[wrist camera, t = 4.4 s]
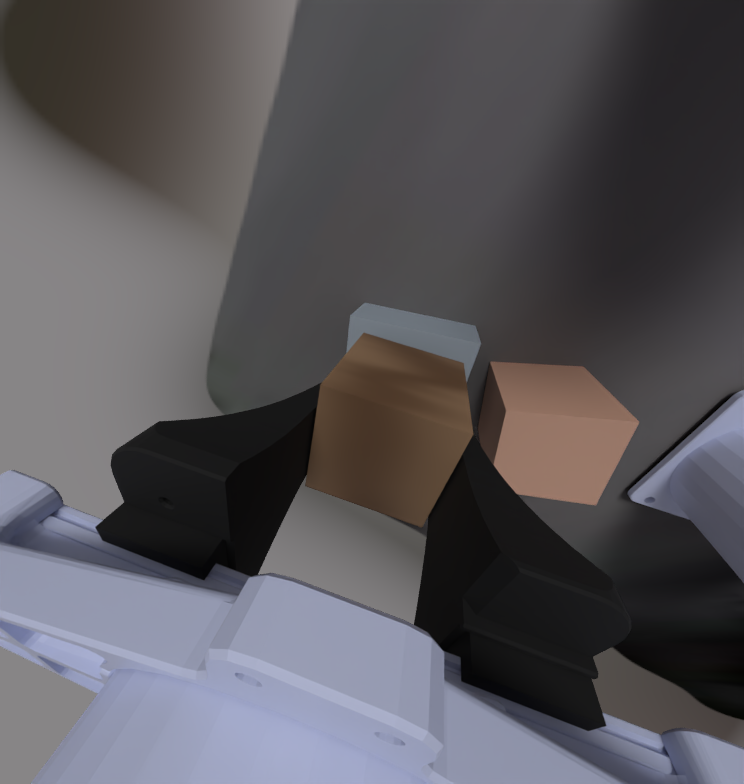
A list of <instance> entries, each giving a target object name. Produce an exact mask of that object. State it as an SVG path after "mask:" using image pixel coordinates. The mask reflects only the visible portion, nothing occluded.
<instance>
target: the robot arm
mask: <svg viewBox="0 0 744 784" xmlns="http://www.w3.org/2000/svg"><path fill="white" fill-rule="evenodd" d="M320 385H321V383H320V384H318V385H316V386H314V387H312V388H310V389H308V390H306V391H304V392H301V393H299V394H297V395H294V396H292V397H289V398H287V399H285V400H282V401H279V402H276V403H273V404H270V405H267V406H264V407H260V408H256V409H252V410H248V411H243V412H239V413H234V414H229V415H223V416H216V417H209V418H201V419H190V420H176V421H159V422H158V423H156V424H154V425H153V426H152V427H150V428H148V429H147V430H145V431H144V432H142V433H141V434H139V435H138V436H136V437H135V438H133V439H132V440H130V441H129V442H127V443H126V444H125V445H123V446H121V447H120V448H118V449H117V450H116V451H115V452H114V453H113V454H112V459H111V468H112V472H113V475H114V478H115V480H116V483H117V485H118V488H119V490H120V492H121V495H122V497H123V500H124V503H123V504H122V505H121V506H120V507H118V508H117V509H116V510H115V511H114V512H112V513H111V514H110V515H109V516H108V517H106V518H105V519H104V520H103V519H100V518H97V517H95V516H92V515H90V514H87V513H84V512H82V511H79V510H77V509H74V508H72V507H69V506H66V505H64V504H63V500H62V497H61V496H60V494H59V492H58V491H57V490H56V489H55V488H54V487H52V486H51V485H50V484H48V483H46V482H44V481H41V480H39V479H36V478H34V477H31V476H28V475H26V474H23V473H21V472H18V471H15V470H9V471H7V472H5V473H3V474H1V475H0V646H1V647H2V648H4V649H7V650H9V651H11V652H13V653H15V654H17V655H19V656H21V657H23V658H25V659H27V660H29V661H31V662H33V663H36V664H38V665H40V666H42V667H44V668H46V669H48V670H50V671H52V672H54V673H56V674H58V675H60V676H62V677H64V678H66V679H68V680H70V681H72V682H75V683H77V684H79V685H81V686H83V687H85V688H87V689H89V690H91V691H93V692H95V693H97V694H98V695H97V696H96V697H95V699H94V700H93V701H92V703H91V704H90V705H89V707H88V708H87V709H86V711H85V712H84V713H83V714H82V716H81V717H80V719H79V720H78V721H77V722H76V724H75V725H74V726H73V728H72V729H71V731H70V732H69V733H68V735H67V736H66V737H65V738H64V740H63V741H62V742H61V744H60V745H59V747H58V748H57V749H56V750H55V752H54V753H53V754H52V756H51V757H50V758H49V760H48V761H47V762H46V764H45V765H44V766H43V768H42V769H41V770H40V772H39V773H38V774H37V776H36V777H35V778H34V780H33V781H32V782H31V784H744V747H741V746H738V745H736V744H733V743H730V742H728V741H725V740H723V739H720V738H717V737H715V736H712V735H709V734H707V733H704V732H701V731H698V730H694V729H688V728H675V729H671V730H667V731H665V732H663V733H662V735H660V734H658V733H655V732H653V731H650V730H648V729H645V728H642V727H640V726H637V725H635V724H632V723H629V722H627V721H624V720H621V719H619V718H616V717H614V716H611V715H609V714H606V713H603V712H602V710H601V707H600V704H599V701H598V698H597V695H596V692H595V688H594V685H593V682H592V679H596V678H598V671H597V668H596V665H595V662H594V660H593V656H595V655H597V654H599V653H601V652H603V651H605V650H607V649H609V648H611V647H613V646H614V645H616V644H618V643H620V642H621V641H622V640H624V639H625V638H626V637H627V635H628V633H629V632H630V630H631V628H632V626H631V619H630V617H629V614H628V612H627V610H626V608H625V606H624V604H623V602H622V600H621V598H620V595H619V593H618V591H617V589H616V587H615V585H614V583H613V581H612V579H611V578H610V577H609V576H608V575H606V574H605V573H604V572H603V571H601V570H600V569H599V568H598V567H596V566H595V565H594V564H592V563H591V562H590V561H589V560H587V559H586V558H585V557H584V556H582V555H581V554H580V553H579V552H577V551H576V550H575V549H574V548H572V547H571V546H570V545H569V544H568V543H567V542H566V541H564V540H563V539H562V538H561V537H560V536H559V535H558V534H556V533H555V532H554V531H553V530H552V529H551V528H550V527H549V526H548V525H547V524H546V523H544V522H543V521H542V520H541V519H540V518H539V517H538V516H537V515H536V514H535V513H534V512H533V511H532V510H531V509H530V508H529V507H528V506H527V505H526V504H525V503H524V501H523V500H522V499H521V498H520V497H519V496H518V495H517V494H516V493H515V491H514V490H513V489H512V488H511V487H510V486H509V484H508V483H507V482H506V481H505V480H504V478H503V477H502V476H501V475H500V473H499V472H498V470H497V469H496V468H495V466H494V465H493V464H492V462H491V461H490V459H489V458H488V456H487V455H486V453H485V452H484V450H483V449H482V447H481V446H480V444H479V442H478V441H477V439H476V437H475V436H474V434H473V436H472V438H471V440H470V441H469V443H468V445H467V447H466V449H465V450H464V452H463V454H462V456H461V458H460V459H459V461H458V463H457V465H456V467H455V469H454V470H453V472H452V474H451V476H450V478H449V479H448V481H447V483H446V485H445V487H444V488H443V490H442V492H441V494H440V496H439V497H438V499H437V501H436V503H435V505H434V507H433V508H432V510H431V512H430V514H429V516H428V531H427V539H426V547H425V555H424V563H423V570H422V577H421V584H420V591H419V597H418V604H417V610H416V616H415V622H414V625H413V624H411V623H409V622H407V621H405V620H403V619H400V618H397V617H395V616H392V615H389V614H387V613H384V612H382V611H379V610H376V609H374V608H371V607H368V606H366V605H363V604H360V603H358V602H355V601H353V600H350V599H347V598H345V597H342V596H340V595H337V594H334V593H332V592H329V591H326V590H324V589H321V588H319V587H316V586H313V585H311V584H308V583H305V582H303V581H300V580H297V579H294V578H291V577H287V576H282V575H278V574H274V573H268V574H260V575H258V573H259V571H260V568H261V566H262V564H263V561H264V560H265V557H266V555H267V553H268V551H269V549H270V546H271V544H272V542H273V540H274V538H275V536H276V534H277V532H278V529H279V527H280V525H281V523H282V521H283V519H284V517H285V515H286V513H287V511H288V509H289V507H290V505H291V503H292V501H293V499H294V497H295V495H296V493H297V491H298V489H299V487H300V485H301V483H302V482H303V480H304V478H305V476H306V475H307V471H308V464H309V458H310V451H311V444H312V438H313V431H314V424H315V418H316V411H317V405H318V398H319V391H320ZM628 496H629V497H630V499H631V500H632V501H634V502H636V503H639V504H643V505H646V506H649V507H652V508H655V509H658V510H661V511H664V512H667V513H670V514H673V515H677V516H680V517H683V518H686V519H689V520H691V521H692V522H693V523H694V525H695V526H696V527H697V528H698V529H699V530H700V532H701V533H702V534H703V535H704V536H705V538H706V539H707V540H708V541H709V542H710V543H711V545H712V546H713V547H714V548H715V549H716V551H717V552H718V553H719V554H720V555H721V556H722V558H723V559H724V560H725V561H726V562H727V564H728V565H729V566H730V567H731V568H732V570H733V571H734V572H735V573H736V574H737V575H738V577H739V578H740V579H741V580H742V581H743V583H744V390H742V391H740V392H737V393H736V394H734V395H733V396H732V397H731V398H730V399H729V400H727V401H726V402H725V403H724V404H723V405H722V406H721V407H720V408H719V409H718V410H716V411H715V412H714V413H713V414H712V415H711V416H710V417H709V418H708V419H707V420H706V421H704V422H703V423H702V424H701V425H700V426H699V427H698V428H697V429H696V430H695V431H693V432H692V433H691V434H690V435H689V436H688V437H687V438H686V439H685V440H684V441H682V442H681V443H680V444H679V445H678V446H677V447H676V448H675V449H674V450H673V451H671V452H670V453H669V454H668V455H667V456H666V457H665V458H664V459H663V460H662V461H660V462H659V463H658V464H657V465H656V466H655V467H654V468H653V469H652V470H651V471H649V472H648V473H647V474H646V475H645V476H644V477H643V478H642V479H641V480H640V481H639V482H637V483H636V484H635V485H634V486H633V487H632V488H631V489H630V490H629V491H628ZM647 497H648V498H647ZM591 678H592V679H591Z"/></svg>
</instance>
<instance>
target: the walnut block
mask: <svg viewBox="0 0 744 784" xmlns="http://www.w3.org/2000/svg"><path fill="white" fill-rule="evenodd" d="M472 436H473V428H472V420H471V413H470V406H469V398H468V391H467V383H466V376H465V369H464V363H462V362H459V361H456V360H452V359H449V358H446V357H442V356H439V355H436V354H433V353H429V352H426V351H423V350H419V349H416V348H413V347H410V346H406V345H403V344H400V343H397V342H393V341H390V340H387V339H383V338H380V337H377V336H374V335H370V334H367V333H363V334H362V335H361V336H360V338H359V339H358V340H357V341H356V342H355V344H354V345H353V346H352V347H351V348H350V350H349V351H348V352H347V353H346V355H345V356H344V357H343V358H342V359H341V361H340V362H339V363H338V364H337V365H336V367H335V368H334V369H333V370H332V371H331V373H330V374H329V375H328V376H327V377H326V379H325V380H324V381H323V382H322V383H321V385H320V391H319V398H318V405H317V411H316V418H315V424H314V431H313V438H312V444H311V451H310V458H309V464H308V471H307V478H306V484H305V486H307V487H310V488H312V489H315V490H318V491H321V492H324V493H326V494H329V495H332V496H335V497H338V498H340V499H343V500H346V501H349V502H352V503H354V504H357V505H360V506H363V507H366V508H368V509H371V510H374V511H377V512H380V513H383V514H385V515H388V516H391V517H394V518H397V519H399V520H402V521H405V522H408V523H411V524H413V525H416V526H419V527H422V526H423V525H424V523H425V521H426V519H427V517H428V516H429V514H430V512H431V510H432V508H433V507H434V505H435V503H436V501H437V499H438V497H439V496H440V494H441V492H442V490H443V488H444V487H445V485H446V483H447V481H448V479H449V478H450V476H451V474H452V472H453V470H454V469H455V467H456V465H457V463H458V461H459V459H460V458H461V456H462V454H463V452H464V450H465V449H466V447H467V445H468V443H469V441H470V440H471V438H472Z"/></svg>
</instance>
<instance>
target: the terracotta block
mask: <svg viewBox="0 0 744 784" xmlns="http://www.w3.org/2000/svg"><path fill="white" fill-rule="evenodd" d="M638 424H639V421H638V420H637V419H636V418H635V417H634V416H633V415H632V414H631V413H630V412H629V411H628V410H627V409H626V408H625V407H624V406H623V405H622V404H621V403H620V402H619V401H618V400H617V399H616V398H615V397H614V396H613V395H612V394H611V393H610V392H609V391H608V390H607V389H606V388H605V387H604V386H603V385H602V384H601V383H600V382H599V381H598V380H597V379H596V378H595V377H594V376H593V375H591V374H590V373H589V372H588V371H587V370H586V369H585V368H584V367H583V366H564V365H545V364H526V363H507V362H490V365H489V370H488V375H487V381H486V386H485V392H484V397H483V403H482V408H481V414H480V419H479V424H478V432H479V439H480V445H481V447H482V449H483V450H484V452H485V453H486V455H487V456H488V458H489V459H490V461H491V462H492V464H493V465H494V466H495V468H496V469H497V470H498V472H499V473H500V475H501V476H502V477H503V478H504V480H505V481H506V482H507V483H508V484H509V486H510V487H511V488H512V489H513V490H514V491H515V493H516V494H520V495H527V496H534V497H541V498H548V499H555V500H562V501H568V502H575V503H582V504H589V505H596V504H597V502H598V500H599V498H600V496H601V494H602V492H603V490H604V489H605V487H606V485H607V483H608V481H609V479H610V477H611V475H612V473H613V471H614V470H615V468H616V466H617V464H618V462H619V460H620V458H621V456H622V454H623V452H624V451H625V449H626V447H627V445H628V443H629V441H630V439H631V437H632V435H633V433H634V432H635V430H636V428H637V426H638Z"/></svg>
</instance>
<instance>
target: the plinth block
mask: <svg viewBox="0 0 744 784" xmlns="http://www.w3.org/2000/svg"><path fill="white" fill-rule="evenodd" d="M363 333H367V334H370V335H374V336H377V337H380V338H383V339H387V340H390V341H393V342H397V343H400V344H403V345H406V346H410V347H413V348H416V349H419V350H423V351H426V352H429V353H433V354H436V355H439V356H442V357H446V358H449V359H452V360H456V361H459V362H462V363H464V369H465V376H466V383H467V380H468V377H469V375H470V372H471V369H472V367H473V364H474V361H475V359H476V356H477V353H478V351H479V348H480V345H481V342H480V338H479V335H478V332H477V329H476V326H474V325H469V324H464V323H459V322H455V321H450V320H445V319H440V318H436V317H431V316H426V315H421V314H416V313H412V312H407V311H402V310H397V309H393V308H388V307H383V306H378V305H373V304H369V303H364V304H363V305H362V306H360V307H359V308H358V309H357V310H356V311H355V312H354V313H353V314H351V315H350V324H349V333H348V343H347V352H348V351H349V350H350V348H351V347H352V346H353V345H354V344H355V342H356V341H357V340H358V339H359V338H360V336H361V335H362V334H363ZM347 352H346V353H347Z"/></svg>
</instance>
